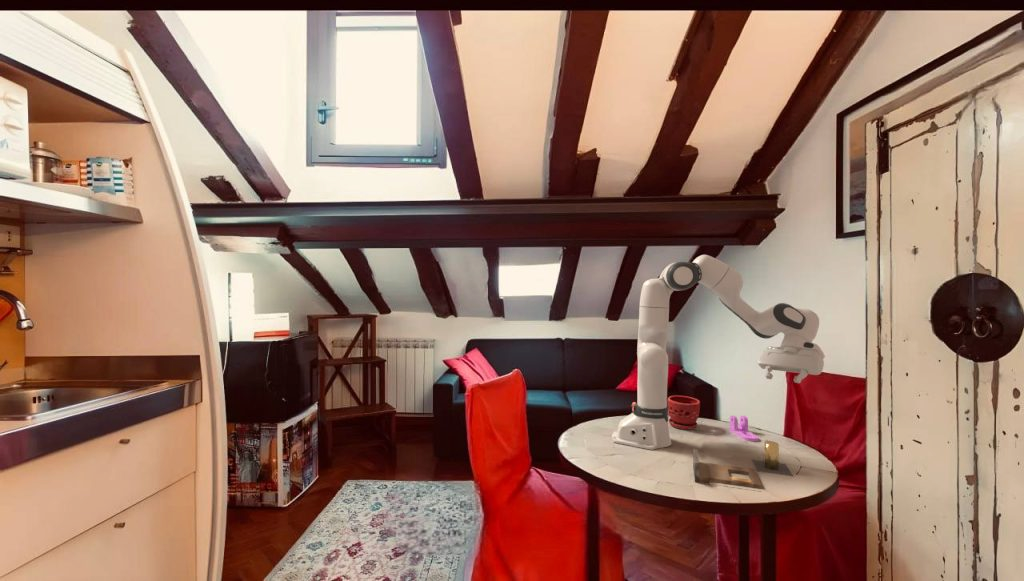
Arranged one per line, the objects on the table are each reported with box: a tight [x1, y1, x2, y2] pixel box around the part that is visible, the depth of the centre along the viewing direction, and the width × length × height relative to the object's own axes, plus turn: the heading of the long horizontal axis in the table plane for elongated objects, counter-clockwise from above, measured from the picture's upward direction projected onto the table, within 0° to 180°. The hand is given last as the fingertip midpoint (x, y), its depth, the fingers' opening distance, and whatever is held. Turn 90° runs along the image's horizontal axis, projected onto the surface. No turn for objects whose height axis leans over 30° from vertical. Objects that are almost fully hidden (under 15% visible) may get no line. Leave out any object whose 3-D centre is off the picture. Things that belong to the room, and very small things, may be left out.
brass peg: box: [763, 440, 780, 470], centre depth 139 cm, size 4×4×8 cm
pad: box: [751, 459, 794, 477], centre depth 139 cm, size 10×10×1 cm
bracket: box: [729, 415, 759, 443], centre depth 172 cm, size 13×6×7 cm, turn 179°
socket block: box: [692, 448, 762, 493], centre depth 133 cm, size 18×12×6 cm, turn 69°
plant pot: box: [667, 395, 701, 430], centre depth 184 cm, size 13×13×12 cm
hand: (782, 380), depth 148 cm, fingers open, 8 cm apart
